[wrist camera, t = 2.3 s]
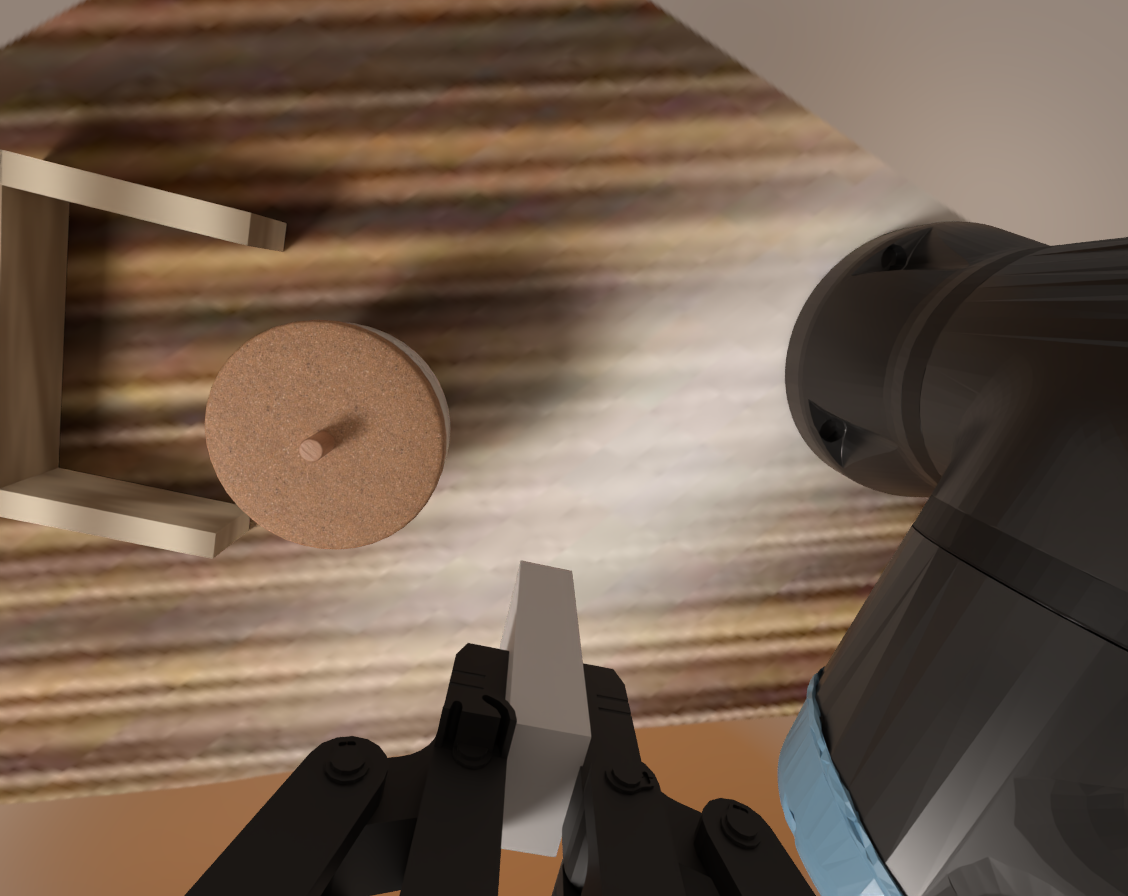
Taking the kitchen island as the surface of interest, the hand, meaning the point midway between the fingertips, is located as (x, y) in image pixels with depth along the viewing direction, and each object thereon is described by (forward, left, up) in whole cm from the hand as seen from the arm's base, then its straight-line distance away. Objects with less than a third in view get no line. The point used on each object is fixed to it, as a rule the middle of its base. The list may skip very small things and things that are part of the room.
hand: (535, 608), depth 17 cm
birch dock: (+22, 0, -19) cm, 29 cm away
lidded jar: (+10, 0, -19) cm, 21 cm away
